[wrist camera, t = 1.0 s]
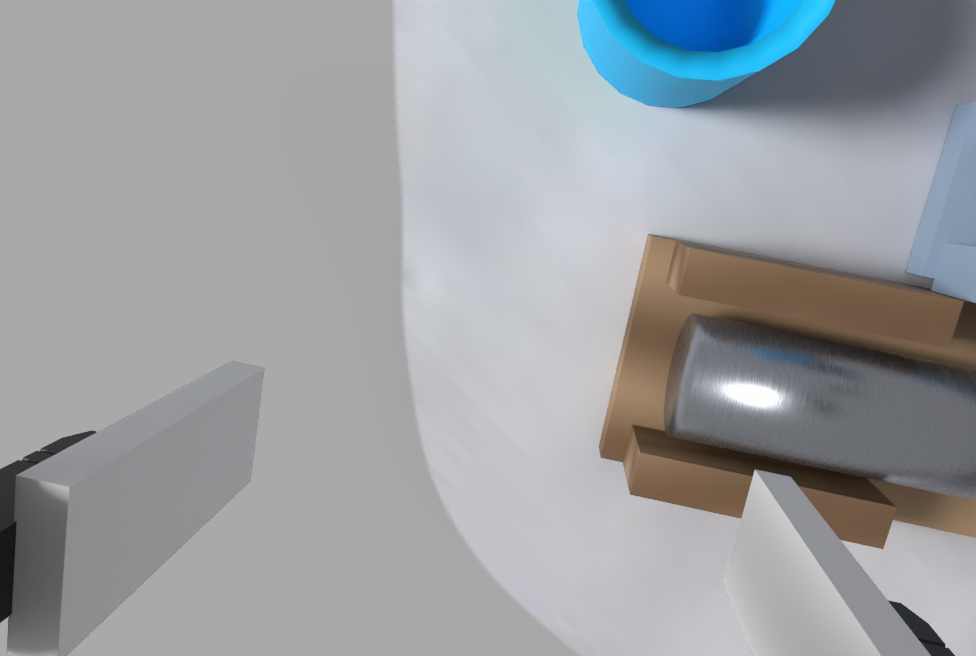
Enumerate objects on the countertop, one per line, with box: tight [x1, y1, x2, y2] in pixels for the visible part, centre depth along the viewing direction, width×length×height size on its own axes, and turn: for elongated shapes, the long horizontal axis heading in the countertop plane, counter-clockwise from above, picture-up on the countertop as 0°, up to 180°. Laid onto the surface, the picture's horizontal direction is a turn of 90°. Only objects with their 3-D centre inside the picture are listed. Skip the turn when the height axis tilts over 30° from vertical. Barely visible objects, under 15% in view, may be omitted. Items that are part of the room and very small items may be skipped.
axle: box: [664, 313, 976, 501], centre depth 29 cm, size 14×5×5 cm, turn 79°
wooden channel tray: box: [599, 234, 976, 549], centre depth 30 cm, size 10×24×5 cm, turn 79°
